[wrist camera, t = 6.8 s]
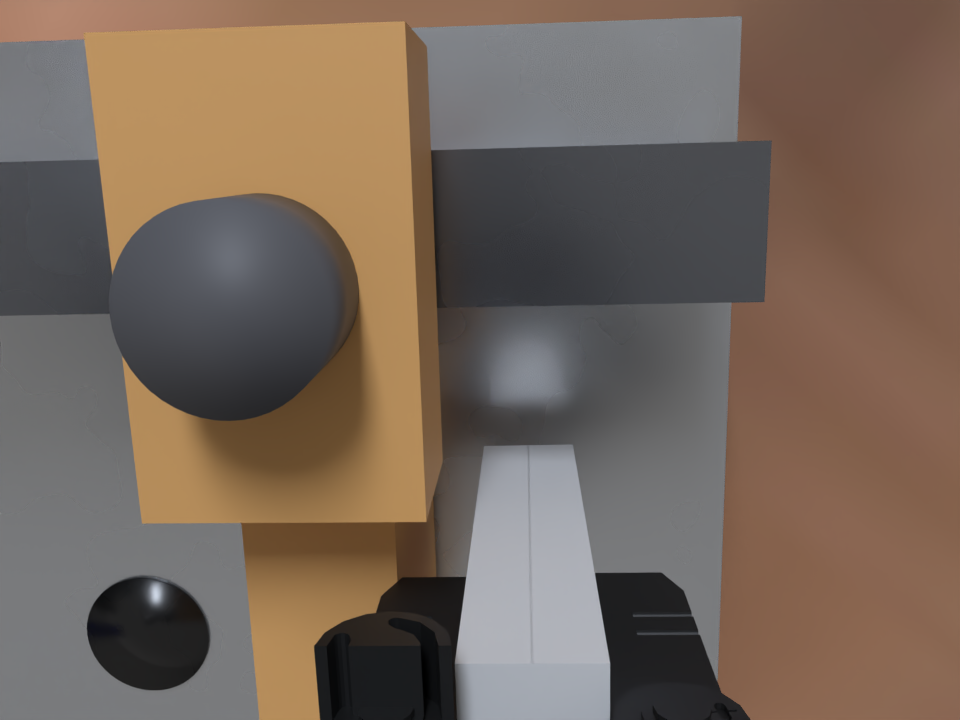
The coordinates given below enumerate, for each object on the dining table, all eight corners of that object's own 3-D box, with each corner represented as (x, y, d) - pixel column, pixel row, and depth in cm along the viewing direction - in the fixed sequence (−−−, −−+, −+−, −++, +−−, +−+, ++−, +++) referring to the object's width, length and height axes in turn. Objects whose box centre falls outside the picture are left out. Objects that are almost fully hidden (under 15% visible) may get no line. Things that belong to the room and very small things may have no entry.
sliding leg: (304, 668, 17) (144, 1039, 10) (257, 81, 15) (2, 10, 7) (471, 669, 17) (432, 1048, 10) (452, 75, 14) (381, -4, 7)
